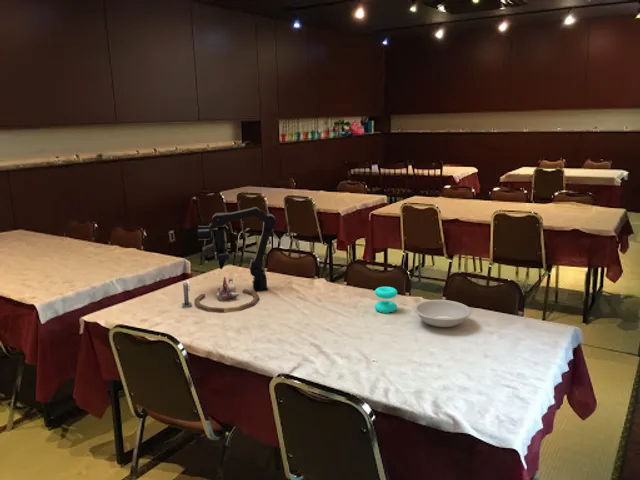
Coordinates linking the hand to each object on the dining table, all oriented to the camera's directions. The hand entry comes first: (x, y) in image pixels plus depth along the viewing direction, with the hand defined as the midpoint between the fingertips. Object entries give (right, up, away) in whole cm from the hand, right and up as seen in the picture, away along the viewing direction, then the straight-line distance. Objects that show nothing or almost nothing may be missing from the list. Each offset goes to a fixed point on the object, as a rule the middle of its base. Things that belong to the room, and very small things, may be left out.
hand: (221, 269), depth 274 cm
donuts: (+80, -17, -26) cm, 86 cm away
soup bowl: (+101, -21, -42) cm, 112 cm away
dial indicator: (-13, -16, -17) cm, 27 cm away
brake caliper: (+4, -14, -7) cm, 16 cm away
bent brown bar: (+6, -15, -13) cm, 21 cm away
